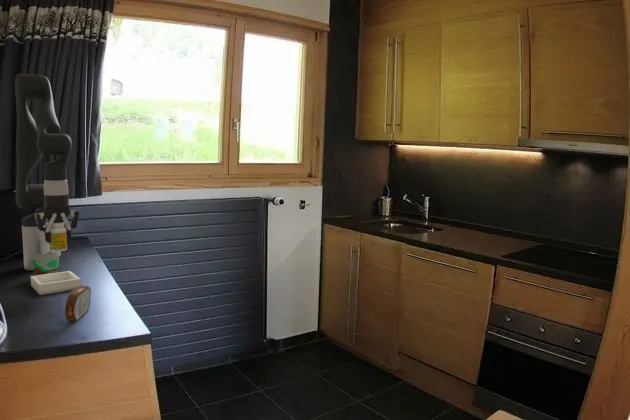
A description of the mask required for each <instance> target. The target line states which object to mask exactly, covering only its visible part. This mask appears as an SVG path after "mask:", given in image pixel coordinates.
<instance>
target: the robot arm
mask: <svg viewBox="0 0 630 420" xmlns="http://www.w3.org/2000/svg"><path fill="white" fill-rule="evenodd" d="M14 90H15V103H16V106H15V107H16V167H17V168H16V185H15V202H16V206H17V207H18V208H19V209H36V211H35V212H33V213H31V214H29V215H26V216H24V217H22V219H21V232H22V233H21V234H22V247H23V249H22V251H23V266H24V267H23V268H24V270H25V271H34V268H33V260H32V259H31V255H32V254H39V253H41V252H44V251H50V243H51V238H50V232H49V231H50V229H51V228H52V227H51V226H52V225H53V223H57V222H64V228H65V229H66V230H67V242H70V240H71V239H72V230H73V229H77V227H78V221H79V217H80V216H79V215H80V211H78V210H71V209H70V199H69V192H70V190H69V184H68V162H69V157H70V153H71V151H72V147H73V142H72V138H71V137H70V136H69V135H68V134H66V133H60V132H61V125H60V124H59V120H58V118H57V116H56V112H55V103H54V98H53V97H54V96H53V92H52V87H51V82H50V80H49V78H48V77H47V76H46V75H42V74H32V73H31V74H30V73H17V74H16V76H15V81H14ZM27 101H37V102H38V101H39V102H41V103H40V104H39V105H38V107H37V108H36V110H35V112H34V113H33V114H34V116H32V114H31V112H30V110H29V107H28V103H27ZM43 155H45V156H47V155H49V156H53V155H54V156H56V155H57V156H58V157H57V159H55V160H52V161H47V162H45V163H44V164H43V183H33V184H32V183H31V184H30V183H29V184H28V181H29V177H30V175H31V173H32V172H33V170H34V168H35V167H36V166H37V164H38V163H40V161H41V159H42V157H43ZM69 216H71V224H70V222H69V220H68V217H69Z"/></svg>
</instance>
